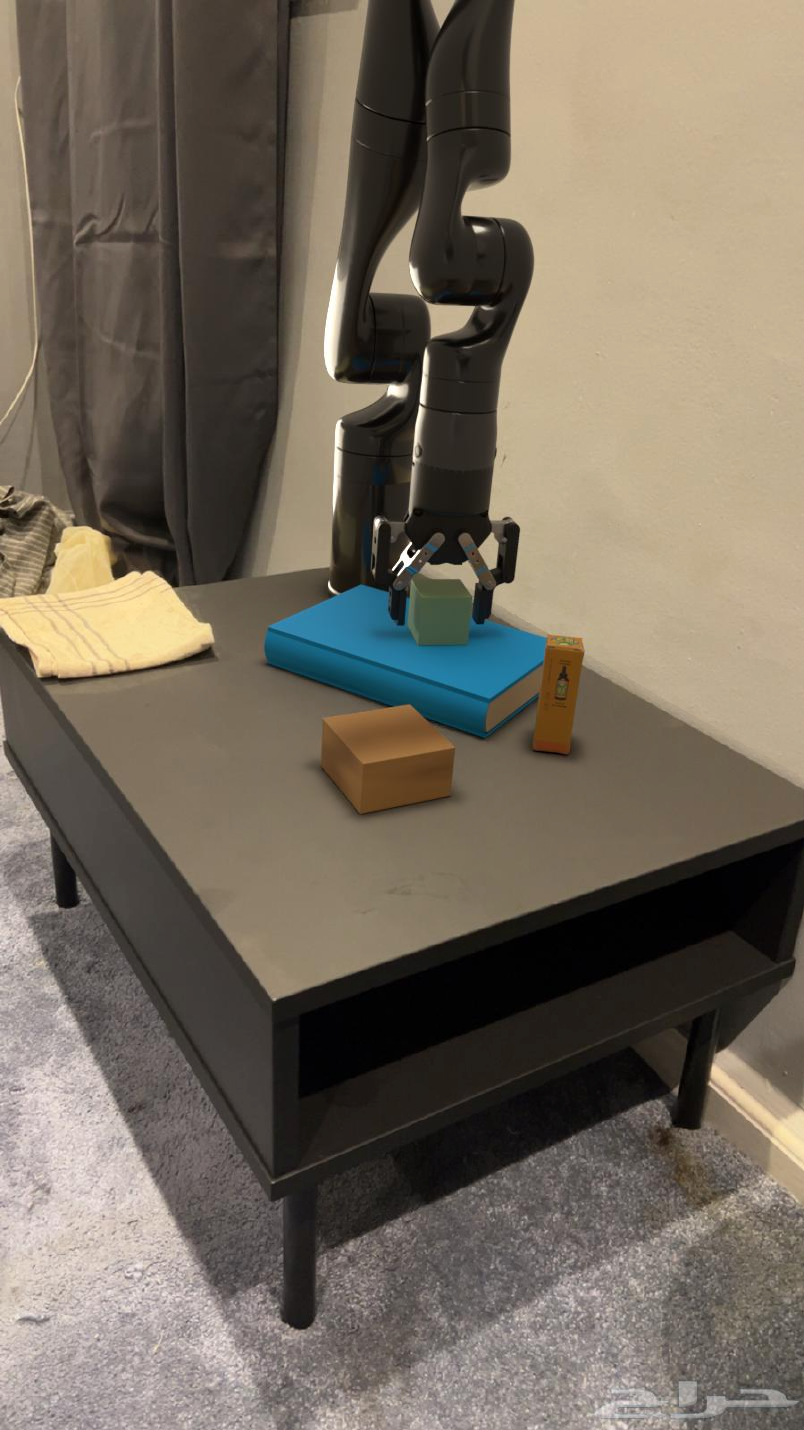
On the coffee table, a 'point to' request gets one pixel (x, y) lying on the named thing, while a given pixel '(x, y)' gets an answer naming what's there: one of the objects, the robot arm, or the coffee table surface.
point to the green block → (439, 612)
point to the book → (411, 661)
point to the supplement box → (558, 693)
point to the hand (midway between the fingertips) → (438, 622)
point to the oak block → (386, 758)
